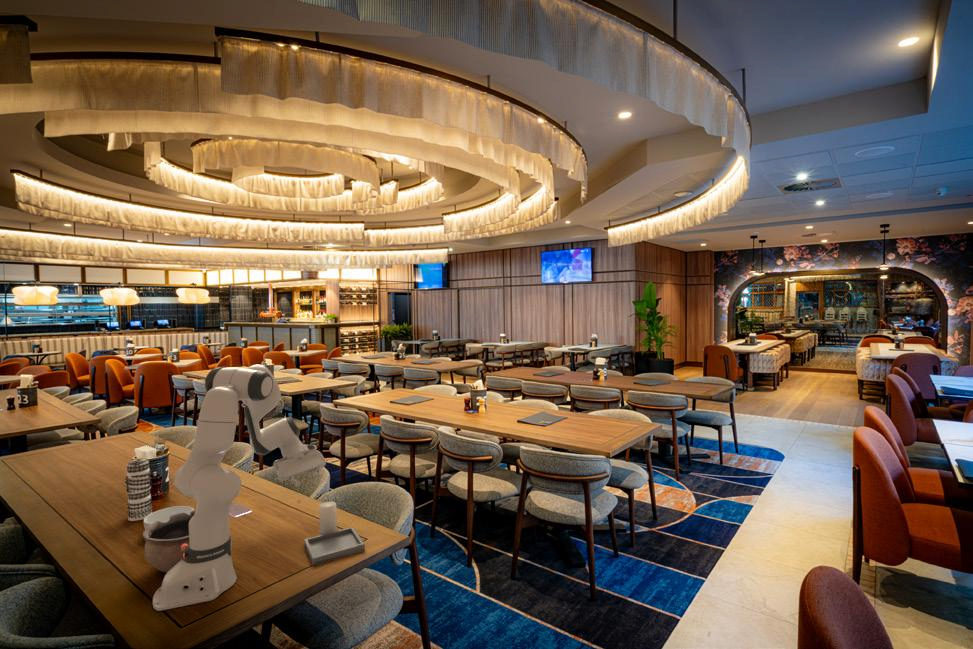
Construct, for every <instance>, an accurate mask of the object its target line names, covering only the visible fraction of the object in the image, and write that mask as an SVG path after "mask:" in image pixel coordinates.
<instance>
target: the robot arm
mask: <svg viewBox="0 0 973 649" xmlns="http://www.w3.org/2000/svg"><path fill="white" fill-rule="evenodd" d="M204 388H205V390H206V393H205V395H204V398H203V401H202V404H201V407H200V411H199V415H198V420H197V425H196V430H195V434H194V435H195V436H194V440H193V444H192V447H191V450H190V452H189V455H188V457H187V458H186V460H185V461H184V464H183V465H181V466H180V467H179V468H178V470H177V471H176V472H175V474H174V478H173V484H174V487H175V488H176V489H177V490H178V491H179V492H180V493H181V494H182V495H184V496H186V497H189V498H192V499H194V500H195V502H196V507H195V510H194V511H195V515H194V516H193V517H192V518H191V519H190V521H189V545H187V544H183V545H182V546H181V551H182V560H181V561H179V562H178V563H177V564H176V565H175V566H174V567H173V568H171V569H170V570H169V571H168V572H165V573H166V574H165V575H164V577H163V580H162V582H161V586H160V587H159V588H157V589H156V591H155V593H154V595H153V597H152V607H153V609H154V610H155V611H158V612H160V611H166V610H170V609H176V608H180V607H185V606H189V605H196V604H200V603H204V602H209V601H213V600H215V599H216V598H218V597H219V596H221V594H222V593H223V592H225V591H227V590H228V589H230V588H231V587H232V586H234V585H235V583H236V581H237V579H238V577H237V574H236V572H235V568H234V566H233V560H232V552H233V549H232V548H233V545H232V538H231V537H232V536H231V535H230V515H229V512H230V507H231V505H233V504H232V503H233V501H234V500H235V499H236V498H237V497H238V495H239V494H240V492H241V489H242V483H243V482H242V478H241V477H240V476H239V475H238V474H237V473H236V472H235V471H233V470H232V469H231V468H227V467H225V466H221V464H222V461H223V458H224V456H225V454H226V453H227V451H229V450H231V448H232V447H233V445H234V442H235V435H236V429H237V423H238V422H237V421H238V416H239V401H247V404H246V405H245V406H244V407H243V408H244V409H243V412H244V413H243V415H244V419H245V423H246V427H247V431H248V435H249V443H250V448H251V450H252V451H253V453H255V454H256V455H260V456H266V455H267V454H269V453H270V452H273V450H275V449H277V448H279V450H280V452H281V455H282V458H280V459H276V460H274V461H273V463H272V466H273V468H274V470H275V473H276V476H277V479H278V481H280V482H281V483H282V482H285V481H289V482H290V483H292V484H293V485H295V487H296V488H299V487H300V486H301V485H302V483H301V481H300V480H297V479H296V478H298V477H300V476H303V475H306V474H309V473H313V472H315V473H316V475H315V476H314V477H315V479H316V480H321V479H322V474H321V470H322V469H324V468H325V466H326V465H327V461H326V458H325V457H324V456H323V454H322V452H321V451H320V450H317V449H318V447H317V445H315V444H304V443H303V442H302V441H301V440H300V438H299V437H300V433H301V430H300V428H299V427H298V426H297V423H296V420H295V419H294V418H291V417H283V418H281V419H279V420H277V421H276V422H273V423H271V424H269V425H267V426H266V427H264V428H261V427H260V421H261V420H262V418H264V417H265V416H266V415H267V414H268V413H270V412H271V411H272V410H274V409H275V408H276V407H277V406H278V404H279V402H280V401H281V397H282V392H281V389H280V386H279V383H278V381H277V379H276V377H275V376H274V374H273V373H272V371H271V370H270V369H269V368H268V367H267V366H265V365H263V364H252V365H250V366H248V367H246V368H245V367H238V366H235V367H234V366H233V367H231V366H230V367H229V366H228V367H227V366H219V367H218V366H217V367H215V368H212V369H211V370H210V371H209V372H208V373H207V374H206V377H205V381H204Z"/></svg>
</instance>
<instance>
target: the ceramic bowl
mask: <svg viewBox="0 0 973 649" xmlns="http://www.w3.org/2000/svg"><path fill="white" fill-rule="evenodd" d="M195 511H196V510H194V511H192V512H190V515H189V514H187V513H179V514H176V515H172V516H170V520H169V521H168V522H165V523H163V522H160V521H156V522H154V523H152V524H151V525H149V526H148V527H147V528H146V529H145V528H144V530H143V532H142V537H143V539H144V541H145V543H144V550H143V551H144V557H145V560H147V562H148V563H149V564H150V565H151V566H152V567H153V568H154V569H156V570H158V571H160V572H163V573H167V572H168V571H169V570H170V569H171V568H173V567H174V566H175V565H176V564H177V563H178V562H179V561H181V560H182V551H181V546H182V545H183V544H187V545H189V521H190V519H191V518H192V517H193V516H194V515H195Z"/></svg>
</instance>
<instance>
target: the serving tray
mask: <svg viewBox="0 0 973 649" xmlns="http://www.w3.org/2000/svg"><path fill="white" fill-rule="evenodd" d="M303 543H304V548H305V550H306V552H307V555H308V558H309V559H310V562H311V565H312V564H313V565H314V566H317V565H320V564H325V563H326V562H330V561H335V560H338V559H340V558H344V557H347V556H351V555H354V554H359V553H362V552H365V551H366V547H365V545H366V544H365V542H364V541H363V539H362V538H361V537H360V535H359V533H358V532H357V531H356V529H355V528H354V527H353V526H351V527H347V528H343V529H337V531H335V532H331V533H327V534H323V535H320V534H319V535H316V536H312V537H308V538H304V542H303ZM313 565H312V566H313Z"/></svg>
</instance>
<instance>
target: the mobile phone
mask: <svg viewBox="0 0 973 649" xmlns="http://www.w3.org/2000/svg"><path fill="white" fill-rule="evenodd" d="M251 513H253V510H251V509H250V508H248V507H246V506H243V505H242V504H241V503H237V502H236V503H233V504H231V507H230V512H229V516H231V517H232V518H235V519H237V518H240V517H242V516H245V515H248V514H251Z"/></svg>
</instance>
